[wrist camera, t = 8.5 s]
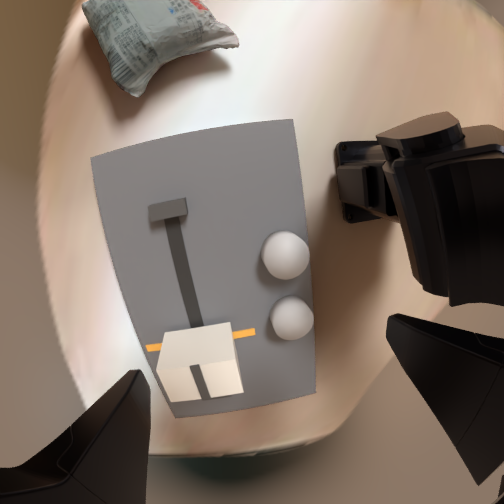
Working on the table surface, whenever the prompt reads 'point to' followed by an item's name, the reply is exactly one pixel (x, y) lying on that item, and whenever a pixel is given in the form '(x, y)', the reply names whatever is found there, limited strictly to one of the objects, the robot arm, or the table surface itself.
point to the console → (216, 251)
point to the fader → (199, 363)
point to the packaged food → (152, 35)
